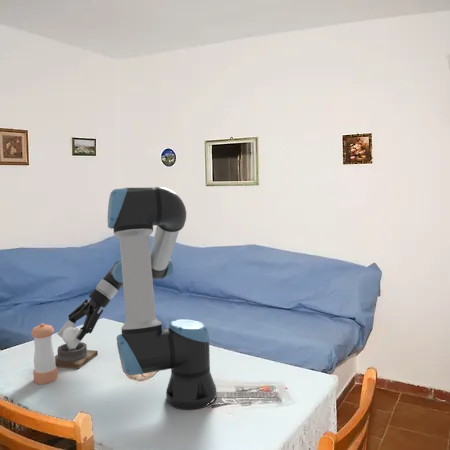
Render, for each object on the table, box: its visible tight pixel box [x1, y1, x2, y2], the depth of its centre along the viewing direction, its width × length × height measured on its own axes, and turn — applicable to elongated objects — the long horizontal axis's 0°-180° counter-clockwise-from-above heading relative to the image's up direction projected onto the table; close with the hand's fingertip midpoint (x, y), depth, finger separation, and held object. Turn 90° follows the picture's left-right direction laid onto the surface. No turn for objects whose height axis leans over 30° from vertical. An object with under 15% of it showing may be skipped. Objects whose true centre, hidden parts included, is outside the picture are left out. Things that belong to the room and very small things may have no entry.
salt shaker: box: [30, 323, 58, 385], centre depth 151 cm, size 7×7×19 cm
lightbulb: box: [61, 326, 80, 351], centre depth 167 cm, size 6×6×11 cm
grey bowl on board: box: [55, 341, 99, 370], centre depth 167 cm, size 13×13×5 cm
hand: (65, 341), depth 165 cm, fingers open, 13 cm apart
